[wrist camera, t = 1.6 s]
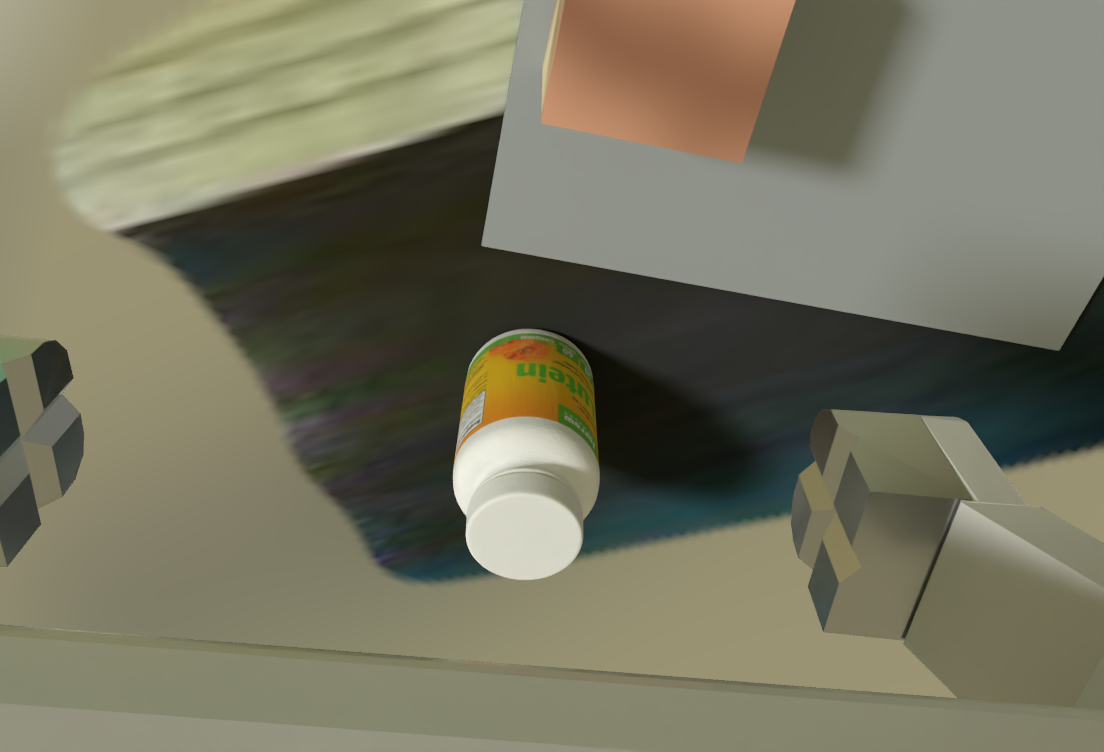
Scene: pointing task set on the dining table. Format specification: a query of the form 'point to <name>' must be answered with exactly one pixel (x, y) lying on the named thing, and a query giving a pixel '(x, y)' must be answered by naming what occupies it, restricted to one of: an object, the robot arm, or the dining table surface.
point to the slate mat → (852, 171)
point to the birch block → (663, 70)
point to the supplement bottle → (527, 453)
